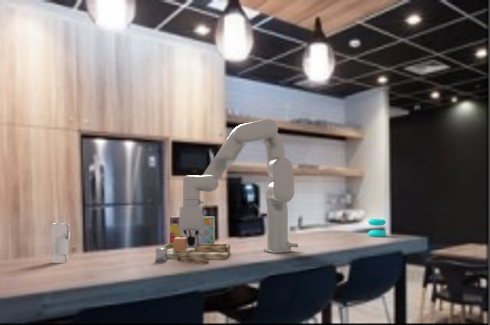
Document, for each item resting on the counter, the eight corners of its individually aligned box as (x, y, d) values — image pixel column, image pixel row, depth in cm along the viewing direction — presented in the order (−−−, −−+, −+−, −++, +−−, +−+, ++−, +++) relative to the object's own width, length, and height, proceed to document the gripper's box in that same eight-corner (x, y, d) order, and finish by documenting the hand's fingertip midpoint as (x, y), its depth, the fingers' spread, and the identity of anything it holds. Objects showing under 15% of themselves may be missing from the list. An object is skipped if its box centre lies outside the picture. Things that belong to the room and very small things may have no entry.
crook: (213, 262, 164) (213, 258, 164) (206, 264, 159) (206, 260, 159) (185, 259, 171) (185, 255, 171) (177, 261, 167) (177, 257, 167)
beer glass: (50, 264, 159) (51, 224, 160) (49, 261, 165) (50, 223, 166) (70, 262, 162) (71, 223, 163) (68, 260, 168) (69, 222, 169)
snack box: (215, 247, 204) (215, 216, 205) (213, 248, 198) (213, 216, 199) (172, 246, 206) (172, 215, 207) (169, 248, 200) (169, 216, 201)
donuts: (364, 218, 251) (379, 218, 254) (365, 235, 251) (379, 235, 254) (374, 220, 242) (389, 219, 245) (374, 237, 241) (389, 236, 244)
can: (168, 260, 168) (168, 247, 168) (165, 262, 163) (165, 249, 164) (157, 260, 168) (157, 247, 168) (154, 262, 164) (154, 249, 164)
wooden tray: (230, 253, 186) (230, 243, 186) (225, 259, 170) (225, 249, 170) (168, 252, 188) (168, 243, 188) (158, 258, 172) (158, 248, 172)
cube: (187, 248, 185) (187, 237, 185) (184, 250, 180) (185, 238, 180) (176, 248, 185) (176, 237, 185) (173, 250, 180) (173, 238, 180)
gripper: (209, 203, 186) (209, 244, 185) (176, 203, 187) (176, 244, 186) (207, 203, 179) (206, 247, 178) (172, 203, 180) (172, 246, 179)
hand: (191, 245), depth 182 cm, fingers closed
